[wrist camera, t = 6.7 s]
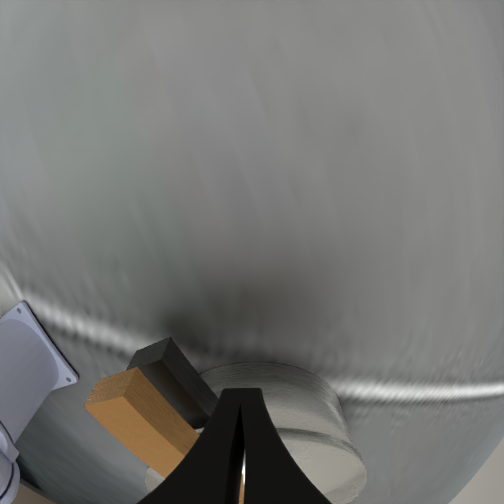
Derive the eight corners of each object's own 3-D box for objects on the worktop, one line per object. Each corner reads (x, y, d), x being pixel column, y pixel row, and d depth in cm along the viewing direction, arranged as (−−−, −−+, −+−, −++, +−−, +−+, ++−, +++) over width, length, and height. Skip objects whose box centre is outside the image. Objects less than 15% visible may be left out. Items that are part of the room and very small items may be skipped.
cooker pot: (364, 449, 23) (379, 495, 17) (239, 487, 24) (238, 531, 19) (269, 265, 17) (277, 317, 11) (96, 346, 19) (59, 397, 13)
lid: (378, 487, 16) (386, 514, 13) (220, 525, 18) (219, 549, 15) (276, 294, 11) (284, 338, 8) (45, 386, 13) (22, 418, 10)
